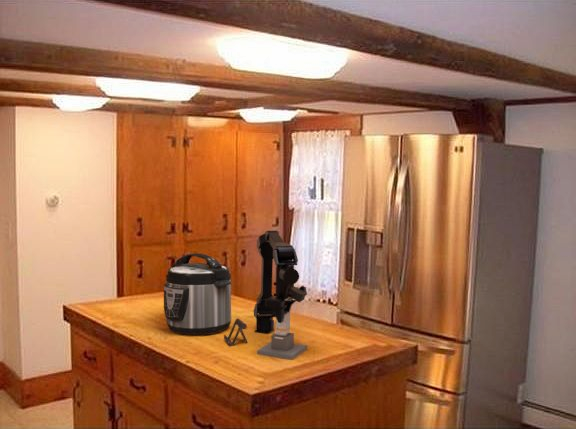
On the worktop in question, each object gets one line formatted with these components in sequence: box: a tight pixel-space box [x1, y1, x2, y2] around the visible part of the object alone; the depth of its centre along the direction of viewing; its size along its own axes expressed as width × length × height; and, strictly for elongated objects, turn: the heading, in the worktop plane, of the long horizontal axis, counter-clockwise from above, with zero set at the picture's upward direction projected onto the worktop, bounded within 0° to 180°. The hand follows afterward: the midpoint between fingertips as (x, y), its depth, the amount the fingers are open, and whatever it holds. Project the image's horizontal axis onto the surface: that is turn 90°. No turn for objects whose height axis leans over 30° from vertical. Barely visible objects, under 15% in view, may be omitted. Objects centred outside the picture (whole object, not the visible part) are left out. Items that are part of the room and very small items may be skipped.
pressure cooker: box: [163, 252, 232, 336], centre depth 246 cm, size 30×28×32 cm
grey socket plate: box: [256, 332, 308, 361], centre depth 217 cm, size 14×14×6 cm
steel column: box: [274, 310, 291, 337], centre depth 217 cm, size 4×4×9 cm
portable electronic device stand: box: [223, 318, 248, 347], centre depth 228 cm, size 9×8×8 cm
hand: (282, 321), depth 217 cm, fingers open, 5 cm apart
